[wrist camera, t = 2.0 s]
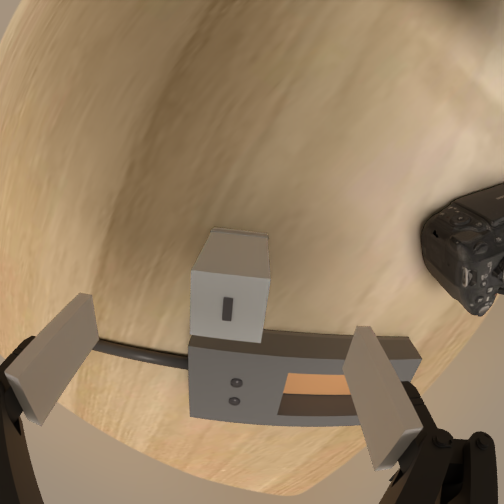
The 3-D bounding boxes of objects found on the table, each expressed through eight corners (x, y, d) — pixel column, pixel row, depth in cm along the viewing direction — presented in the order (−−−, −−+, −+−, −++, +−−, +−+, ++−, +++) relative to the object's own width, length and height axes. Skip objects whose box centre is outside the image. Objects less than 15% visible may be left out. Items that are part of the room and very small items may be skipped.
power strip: (87, 368, 28) (74, 389, 25) (72, 299, 25) (52, 318, 22) (378, 400, 29) (386, 423, 26) (408, 336, 26) (422, 359, 22)
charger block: (213, 226, 23) (189, 269, 15) (267, 232, 23) (271, 279, 15) (209, 276, 24) (188, 335, 16) (261, 282, 24) (261, 344, 17)
